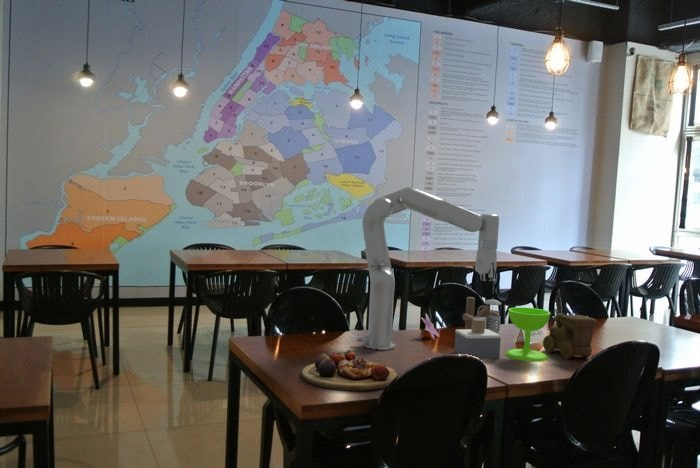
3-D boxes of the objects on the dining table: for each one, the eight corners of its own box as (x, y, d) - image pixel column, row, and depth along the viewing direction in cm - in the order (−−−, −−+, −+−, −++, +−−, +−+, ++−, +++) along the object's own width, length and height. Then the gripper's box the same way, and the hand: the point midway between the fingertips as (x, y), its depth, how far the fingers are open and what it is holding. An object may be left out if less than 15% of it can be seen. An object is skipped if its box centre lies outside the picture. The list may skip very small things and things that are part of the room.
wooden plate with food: (417, 384, 206) (418, 359, 206) (336, 398, 188) (337, 370, 188) (360, 363, 233) (361, 340, 232) (284, 372, 215) (285, 348, 214)
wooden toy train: (596, 361, 247) (599, 319, 246) (572, 362, 243) (575, 319, 242) (561, 348, 266) (564, 309, 265) (539, 350, 261) (541, 310, 260)
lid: (466, 340, 241) (467, 322, 240) (455, 334, 251) (456, 317, 251) (500, 340, 244) (501, 322, 244) (487, 334, 255) (488, 316, 254)
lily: (421, 343, 269) (433, 325, 267) (405, 327, 277) (417, 309, 276) (438, 348, 277) (450, 330, 275) (421, 333, 285) (433, 315, 284)
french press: (504, 334, 288) (507, 280, 286) (478, 333, 288) (481, 279, 286) (499, 330, 298) (502, 277, 296) (474, 329, 298) (477, 276, 296)
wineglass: (497, 352, 254) (500, 307, 253) (529, 350, 260) (532, 306, 259) (523, 362, 239) (526, 315, 238) (556, 360, 246) (559, 314, 245)
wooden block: (488, 338, 279) (490, 297, 278) (466, 339, 276) (469, 298, 275) (483, 336, 283) (485, 296, 282) (462, 337, 279) (464, 296, 278)
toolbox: (465, 359, 241) (467, 325, 240) (450, 349, 255) (452, 317, 254) (500, 358, 244) (502, 324, 244) (483, 349, 258) (485, 317, 258)
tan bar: (478, 327, 256) (479, 321, 256) (462, 319, 271) (463, 313, 271) (483, 327, 256) (483, 321, 256) (467, 319, 272) (467, 313, 272)
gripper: (471, 243, 259) (468, 287, 260) (487, 246, 244) (484, 293, 245) (488, 243, 260) (485, 287, 261) (505, 247, 246) (502, 293, 247)
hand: (484, 290), depth 253 cm, fingers closed
